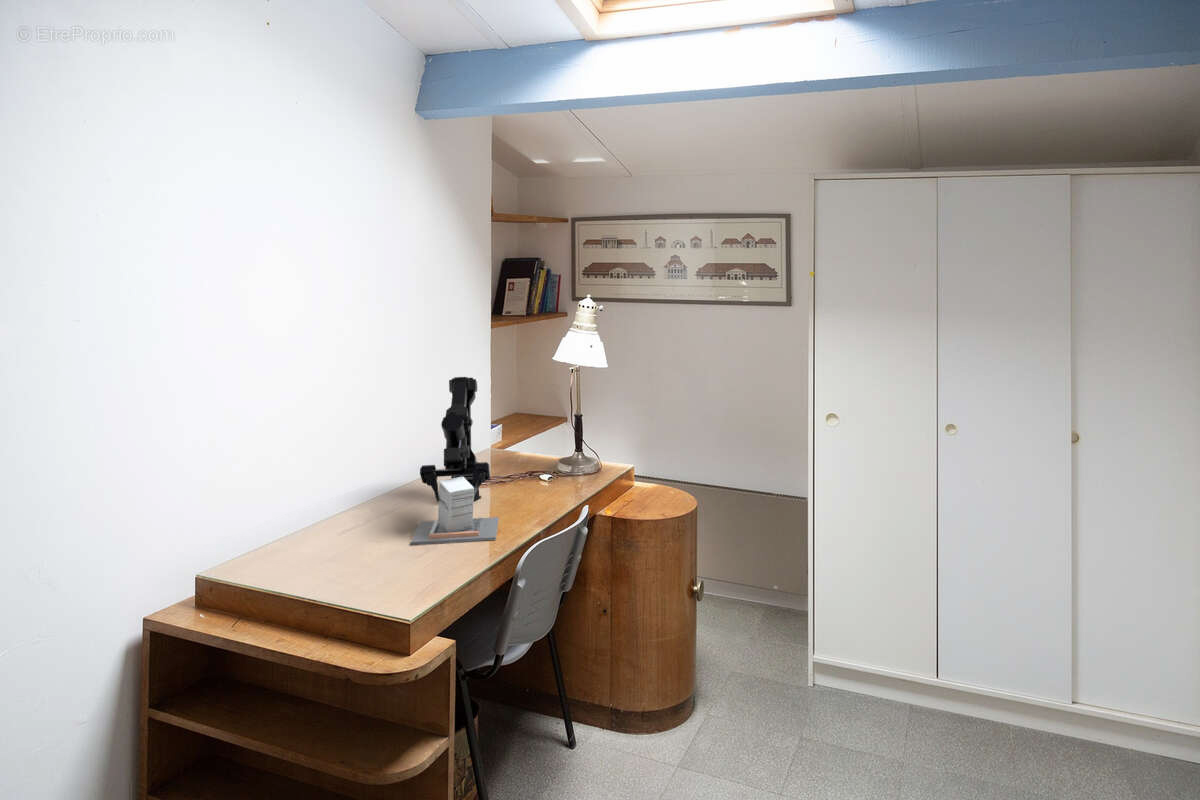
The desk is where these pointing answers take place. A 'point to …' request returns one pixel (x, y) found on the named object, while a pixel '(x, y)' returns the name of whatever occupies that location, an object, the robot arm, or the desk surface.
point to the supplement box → (456, 504)
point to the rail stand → (438, 534)
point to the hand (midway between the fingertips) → (454, 499)
